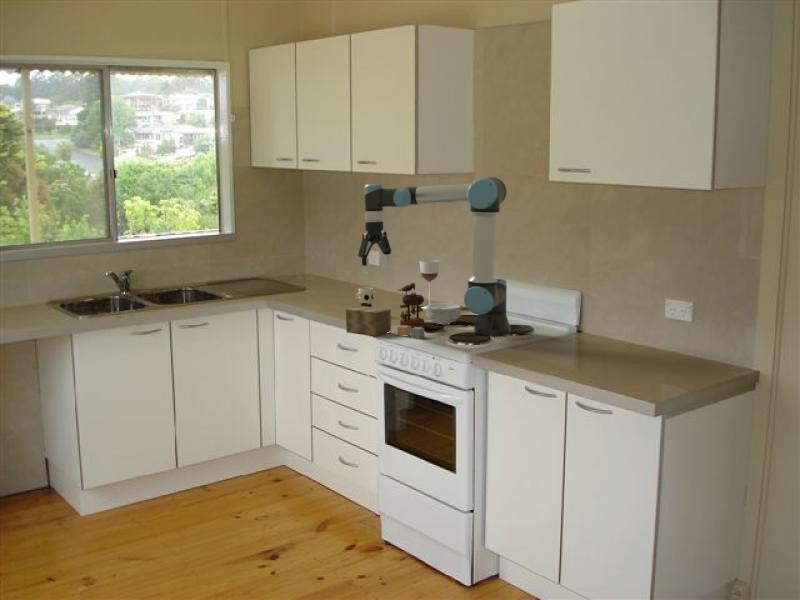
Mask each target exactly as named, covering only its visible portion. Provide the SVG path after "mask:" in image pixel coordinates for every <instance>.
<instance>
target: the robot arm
mask: <svg viewBox="0 0 800 600" xmlns="http://www.w3.org/2000/svg"><path fill="white" fill-rule="evenodd" d="M363 192H364V193H363V197H364V216H365V217H364V219H365V224H364V225H365V227H364V228H365V231H366V232H367V233H362V238H361V239H362V240H361V242H360V247H359V250H358V255H357V256H358V257H359V258H360V259H361V265H362V274H370V260H369V259H370V258H369V257H368V256H369V254H370V252H371V249H372V247H373V246H374V245H375V244H377V245H378V248H379V249H380V250H381V253H382V254H381V271H383V270H384V271H388V270H389V255H391V253H392V248H391V245H390V243H389V239H388V235H387V231H384V222H383V221H384V208H386V207H387V208H404V207H408V206H418V205H435V204H437V205H438V204H440V205H441V204H456V203H469V204H470V206H469V207H470V210H469V212H470V214H472V216H473V236H472V237H473V238H472V240H473V241H472V262H471V263H472V264H471V265H472V267H471V276H470V277H469V278H468V279H467V290H466V291H465V293H464V296H463V303H464V306H465V307H466V309H467V310H468V311H469V312H470V313H472V314H473V315H474V314H475V315H477V318H476V321H475V325H474V327H473V332H474V334H476V333H478V334H477V335H479V334H483V335H482V336H486V335H487V337H489V336H490V337H491V336H492V337H495V336H498V337H499V336H505V335H510V334H511V325H510V322H509V320H508V315H507V289H508V288H507V287H508V285H507V280H506V278H505V279H504V278H495V277H494V272H495V271H494V269H495V268H494V267H495V244H496V243H495V240H496V217H497V216H498V215H499V214H500V210H501V208H500V207H501V206H500V205H501V204H502V203H503V202H504V201H505V199H506V197H507V193H508V191H507V187H506V184H505V183H504V181H503V180H501V179H499V178H498V177H481V178H477V179H476V180H474V181H473V182H472V183H458V184H445V185H444V184H443V185H442V184H441V185H425V186H406V187H397V188H383V184H381V183H368V184H365V185H364V191H363ZM509 333H510V334H509Z"/></svg>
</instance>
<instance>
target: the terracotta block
mask: <svg viewBox="0 0 800 600" xmlns="http://www.w3.org/2000/svg"><path fill="white" fill-rule="evenodd" d="M396 328H397V331H396V332H397V334H398V335H410V334H411V326H406V325H402V326H400V325H398V326H397V327H396ZM397 334H396V335H397ZM410 336H411V335H410Z"/></svg>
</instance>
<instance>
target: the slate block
mask: <svg viewBox="0 0 800 600" xmlns="http://www.w3.org/2000/svg"><path fill="white" fill-rule="evenodd" d="M425 330H426V329H425V327H424V328H422V327H414V328H411V335H410V338H411V337H414V338H413V339H417V340H418V339H423V338H425V336H426V335H425V334H426V333H425V332H426V331H425Z"/></svg>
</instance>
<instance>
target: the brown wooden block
mask: <svg viewBox="0 0 800 600" xmlns="http://www.w3.org/2000/svg"><path fill="white" fill-rule="evenodd" d="M391 313H392V312H391V308H381V307H373V306H372V307H365V306H361V305H360V306H359V305H358V306H355V307H350V308H346V309H345V316H346V317H345V318H346V319H345V322H346V327H345V328H346V329H345V330H346V333H349V334H354V335H360V336H361V335H363V336H369V337H370V336H371V337H380V336H384V335H387V334H386V333H387V332H389V331H391V332H392V323H391V322H392V320H391V319H392V317H391V316H392V315H391Z"/></svg>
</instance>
